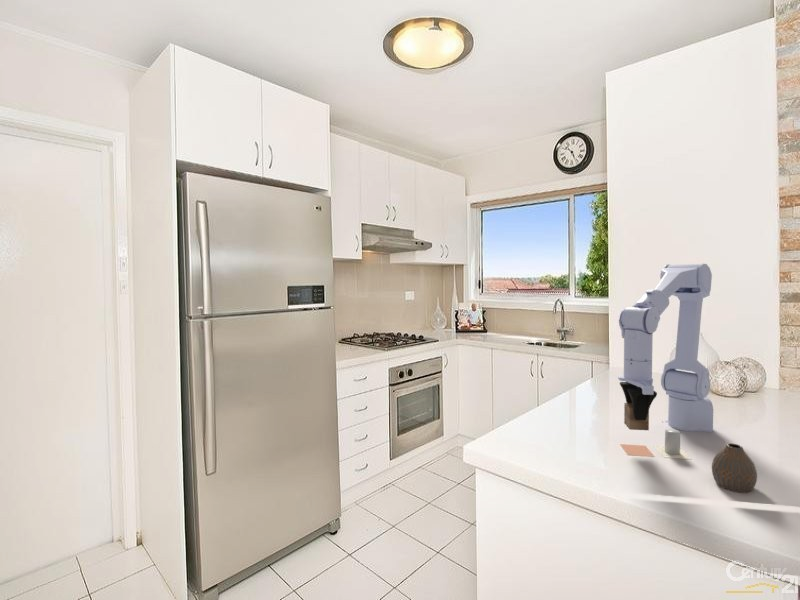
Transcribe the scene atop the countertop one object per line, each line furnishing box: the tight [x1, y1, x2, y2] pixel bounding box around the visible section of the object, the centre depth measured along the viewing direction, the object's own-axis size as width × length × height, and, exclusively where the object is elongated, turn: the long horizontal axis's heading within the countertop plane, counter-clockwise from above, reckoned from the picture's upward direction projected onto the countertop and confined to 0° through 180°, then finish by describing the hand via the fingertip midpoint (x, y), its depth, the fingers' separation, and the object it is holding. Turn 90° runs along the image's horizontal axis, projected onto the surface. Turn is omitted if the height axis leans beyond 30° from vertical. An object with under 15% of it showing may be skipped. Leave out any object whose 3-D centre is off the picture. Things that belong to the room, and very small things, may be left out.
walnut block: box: [623, 402, 650, 431], centre depth 98 cm, size 4×4×5 cm
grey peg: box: [664, 428, 682, 455], centre depth 96 cm, size 3×3×5 cm
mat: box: [619, 443, 692, 460], centre depth 98 cm, size 13×8×1 cm, turn 77°
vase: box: [711, 443, 758, 494], centre depth 82 cm, size 7×7×9 cm
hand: (637, 416), depth 98 cm, fingers closed on walnut block, 4 cm apart
